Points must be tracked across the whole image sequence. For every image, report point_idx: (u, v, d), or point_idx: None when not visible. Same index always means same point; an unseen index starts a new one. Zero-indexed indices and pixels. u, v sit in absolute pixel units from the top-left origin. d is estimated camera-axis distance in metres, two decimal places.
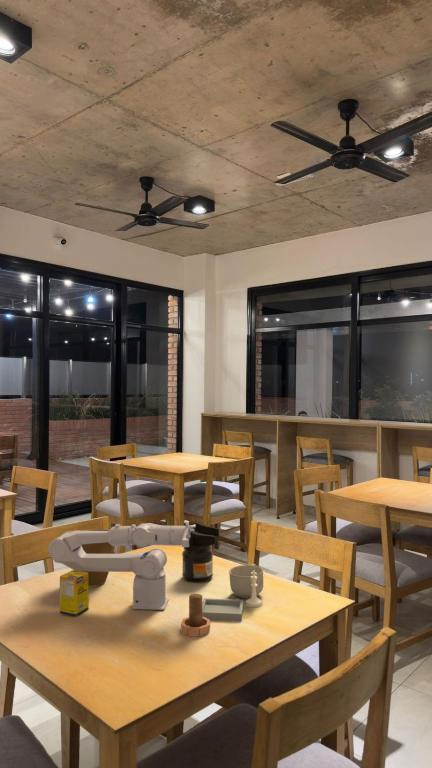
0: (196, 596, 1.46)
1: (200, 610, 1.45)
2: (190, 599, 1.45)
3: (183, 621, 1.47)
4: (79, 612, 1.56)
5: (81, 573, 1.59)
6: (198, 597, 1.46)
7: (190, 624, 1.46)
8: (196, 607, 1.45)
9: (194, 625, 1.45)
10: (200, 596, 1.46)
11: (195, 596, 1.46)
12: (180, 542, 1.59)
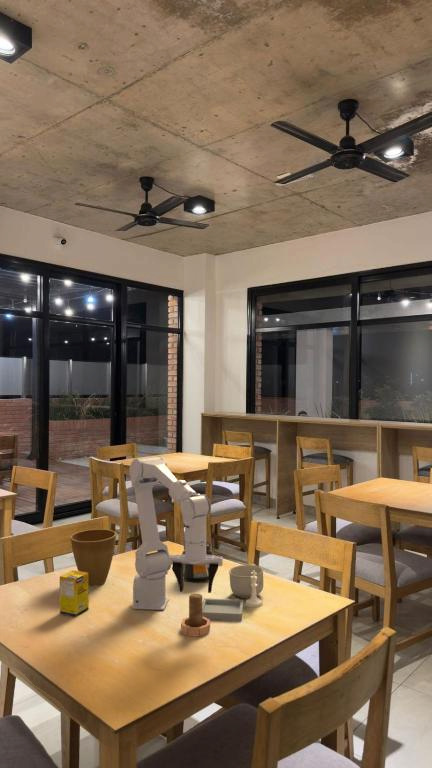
0: (196, 596, 1.46)
1: (200, 610, 1.45)
2: (190, 599, 1.45)
3: (183, 621, 1.47)
4: (79, 612, 1.56)
5: (81, 573, 1.59)
6: (198, 597, 1.46)
7: (190, 624, 1.46)
8: (196, 607, 1.45)
9: (194, 625, 1.45)
10: (200, 596, 1.46)
11: (195, 596, 1.46)
12: None
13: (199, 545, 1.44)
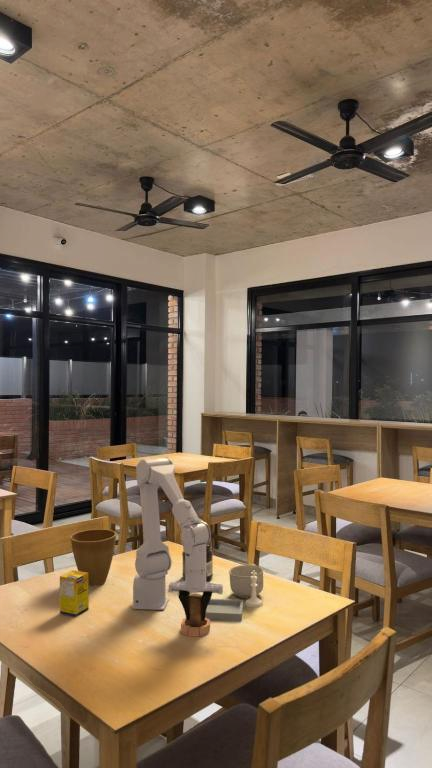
0: (196, 596, 1.46)
1: (200, 610, 1.45)
2: (190, 599, 1.45)
3: (183, 621, 1.47)
4: (79, 612, 1.56)
5: (81, 573, 1.59)
6: (198, 597, 1.46)
7: (190, 624, 1.46)
8: (196, 607, 1.45)
9: (194, 625, 1.45)
10: (200, 596, 1.46)
11: (195, 596, 1.46)
12: None
13: (199, 573, 1.44)
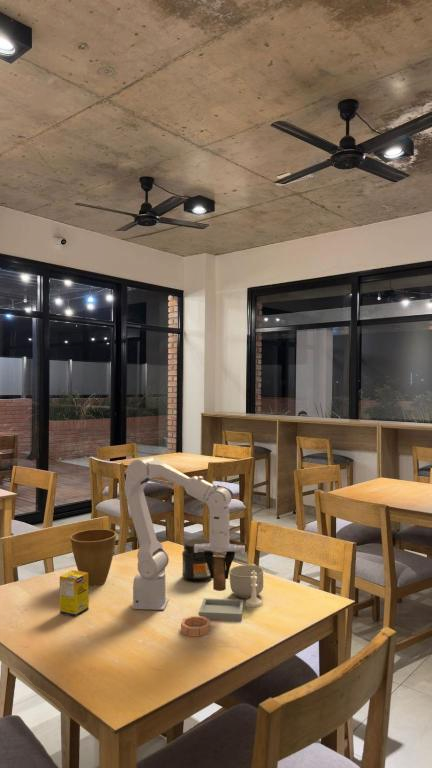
0: (220, 557, 1.56)
1: (223, 570, 1.55)
2: (214, 560, 1.55)
3: (183, 621, 1.47)
4: (79, 612, 1.56)
5: (81, 573, 1.59)
6: (221, 558, 1.55)
7: (214, 582, 1.55)
8: (220, 567, 1.54)
9: (217, 584, 1.55)
10: (223, 557, 1.56)
11: (219, 557, 1.56)
12: None
13: (223, 534, 1.54)
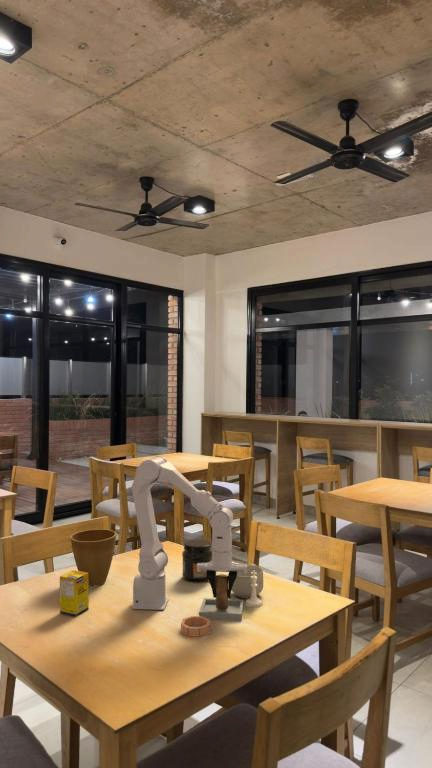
0: (222, 577, 1.57)
1: (226, 589, 1.56)
2: (216, 579, 1.56)
3: (183, 621, 1.47)
4: (79, 612, 1.56)
5: (81, 573, 1.59)
6: (224, 577, 1.57)
7: (216, 601, 1.57)
8: (222, 586, 1.56)
9: (220, 603, 1.56)
10: (226, 576, 1.57)
11: (221, 576, 1.57)
12: None
13: (226, 554, 1.55)
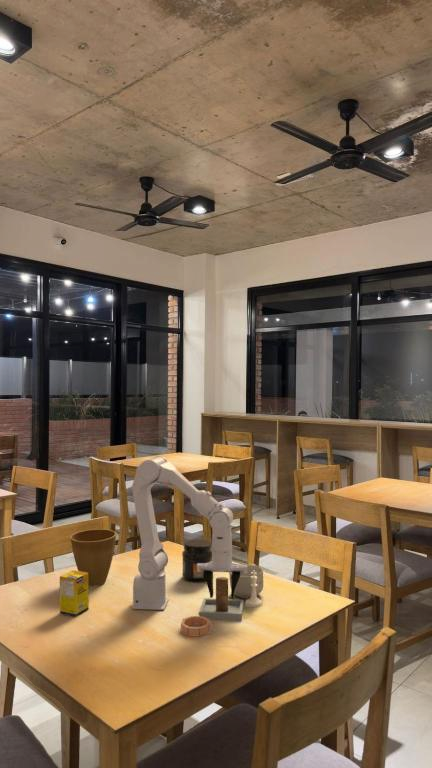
0: (223, 579, 1.57)
1: (226, 592, 1.56)
2: (217, 581, 1.57)
3: (183, 621, 1.47)
4: (79, 612, 1.56)
5: (81, 573, 1.59)
6: (224, 580, 1.57)
7: (216, 604, 1.57)
8: (222, 589, 1.56)
9: (220, 606, 1.56)
10: (226, 579, 1.57)
11: (221, 579, 1.58)
12: None
13: (226, 554, 1.55)
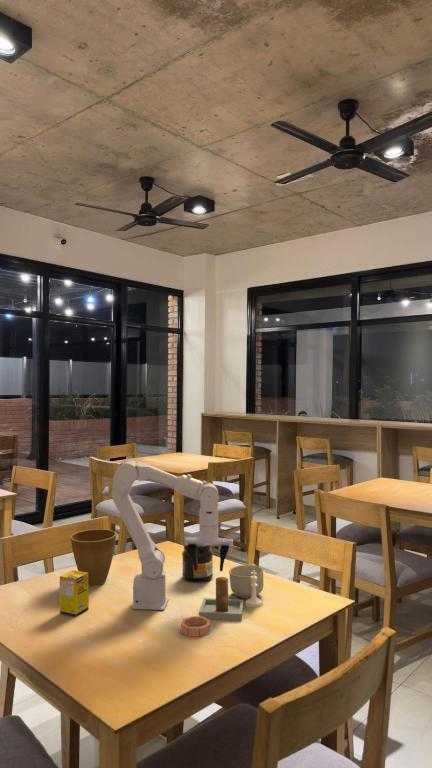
0: (222, 579, 1.57)
1: (226, 592, 1.56)
2: (216, 581, 1.57)
3: (183, 621, 1.47)
4: (79, 612, 1.56)
5: (81, 573, 1.59)
6: (224, 580, 1.57)
7: (216, 604, 1.57)
8: (222, 589, 1.56)
9: (220, 606, 1.56)
10: (226, 579, 1.57)
11: (221, 579, 1.58)
12: None
13: (212, 528, 1.61)
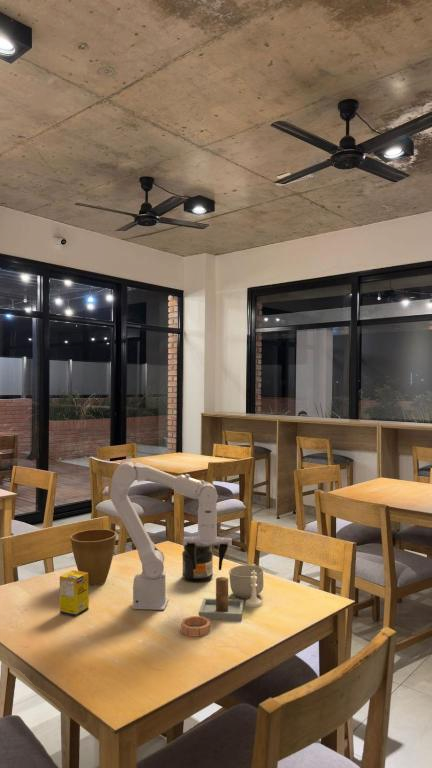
0: (223, 579, 1.57)
1: (226, 592, 1.56)
2: (217, 581, 1.57)
3: (183, 621, 1.47)
4: (79, 612, 1.56)
5: (81, 573, 1.59)
6: (224, 580, 1.57)
7: (216, 604, 1.57)
8: (222, 589, 1.56)
9: (220, 606, 1.56)
10: (226, 579, 1.57)
11: (221, 579, 1.57)
12: None
13: (211, 527, 1.62)
